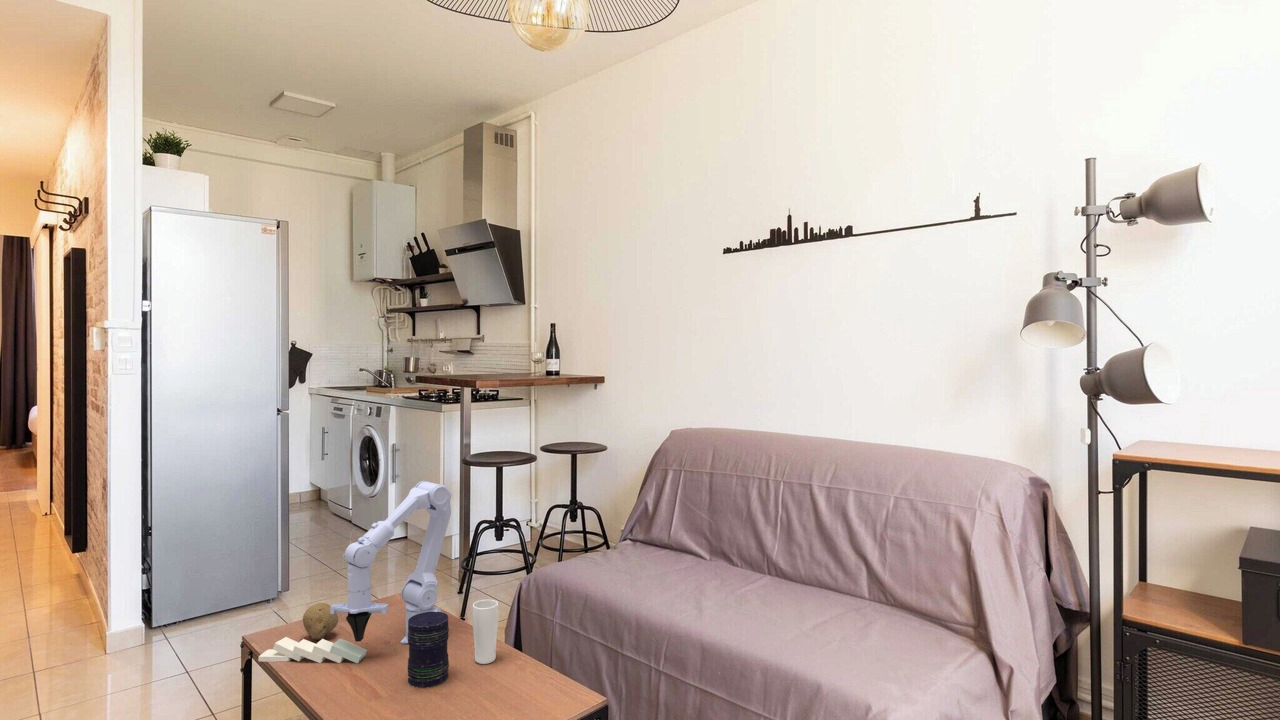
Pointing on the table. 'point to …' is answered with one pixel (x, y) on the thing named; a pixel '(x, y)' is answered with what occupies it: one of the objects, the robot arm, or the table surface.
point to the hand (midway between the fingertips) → (359, 640)
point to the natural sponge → (319, 620)
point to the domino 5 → (348, 650)
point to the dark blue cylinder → (428, 649)
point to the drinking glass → (485, 630)
